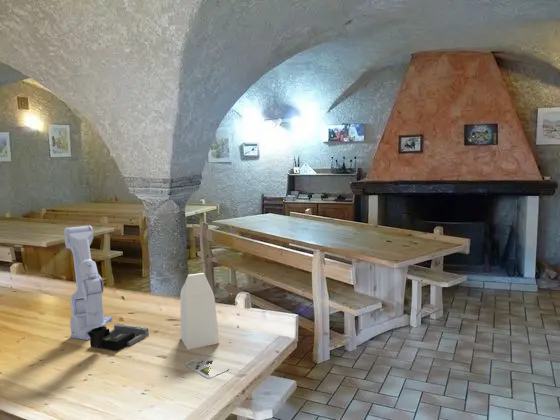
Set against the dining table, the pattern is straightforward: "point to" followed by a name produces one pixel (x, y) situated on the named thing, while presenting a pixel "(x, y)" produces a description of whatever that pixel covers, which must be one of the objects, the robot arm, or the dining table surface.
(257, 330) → the dining table surface
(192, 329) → the milk
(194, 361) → the handheld gaming device
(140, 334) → the grey u-shaped bracket
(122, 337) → the battery charger
